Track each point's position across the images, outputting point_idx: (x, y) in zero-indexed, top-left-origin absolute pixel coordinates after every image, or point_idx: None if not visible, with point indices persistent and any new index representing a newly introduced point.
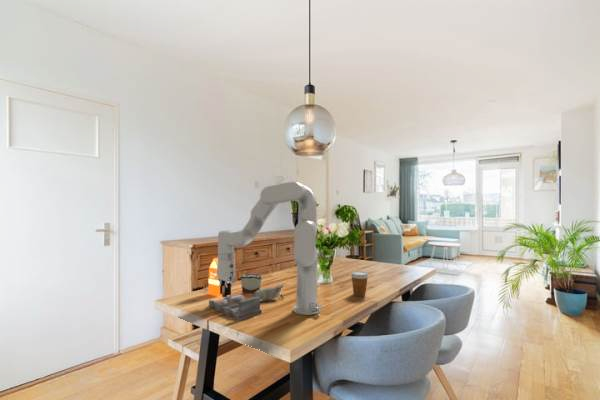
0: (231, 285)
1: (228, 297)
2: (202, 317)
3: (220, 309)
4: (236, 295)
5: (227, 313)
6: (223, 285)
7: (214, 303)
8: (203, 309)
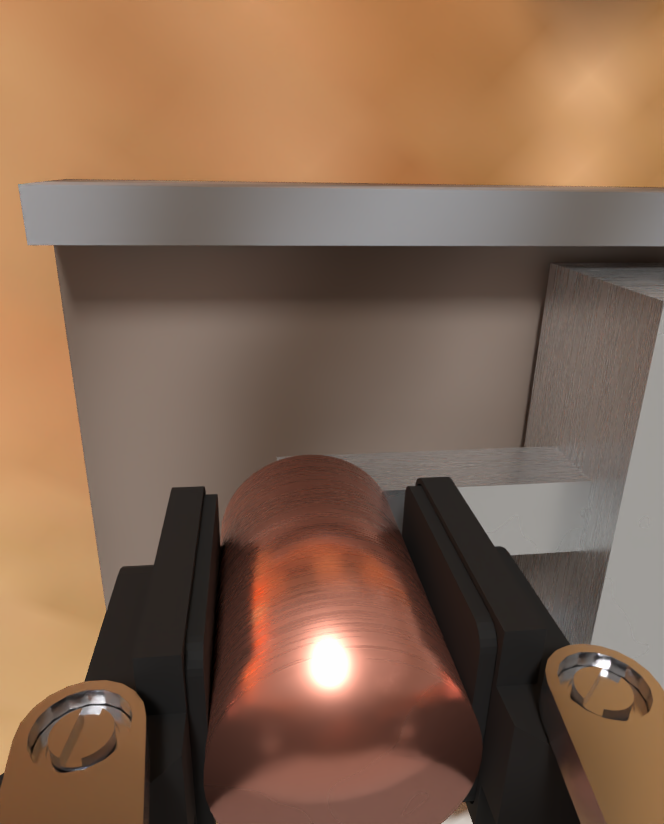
0: (658, 696)
1: (610, 636)
2: (456, 810)
3: None
4: (659, 429)
5: None
6: (273, 814)
7: None
8: None
